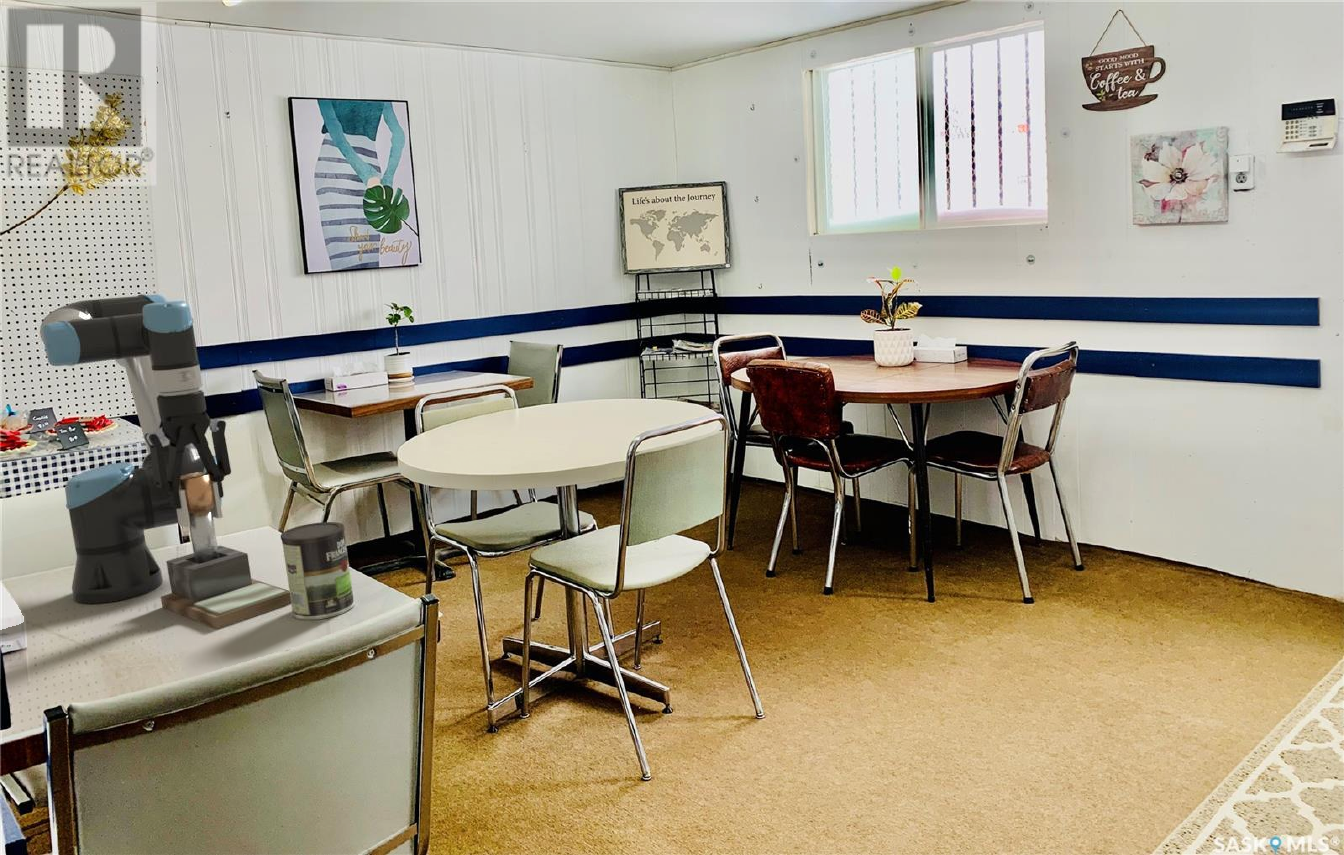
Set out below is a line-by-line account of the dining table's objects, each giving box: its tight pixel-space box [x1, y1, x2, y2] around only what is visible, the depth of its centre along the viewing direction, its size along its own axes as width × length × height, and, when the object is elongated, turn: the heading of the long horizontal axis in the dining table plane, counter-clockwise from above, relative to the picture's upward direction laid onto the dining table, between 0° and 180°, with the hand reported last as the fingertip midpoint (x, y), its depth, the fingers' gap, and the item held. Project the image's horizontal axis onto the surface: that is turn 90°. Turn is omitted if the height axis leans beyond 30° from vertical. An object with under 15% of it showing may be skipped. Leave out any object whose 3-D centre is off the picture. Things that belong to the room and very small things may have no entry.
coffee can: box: [280, 521, 355, 621], centre depth 183 cm, size 10×10×14 cm
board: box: [160, 545, 292, 630], centre depth 189 cm, size 20×14×8 cm
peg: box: [179, 472, 219, 564], centre depth 191 cm, size 5×5×18 cm
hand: (200, 520), depth 191 cm, fingers closed on peg, 5 cm apart
